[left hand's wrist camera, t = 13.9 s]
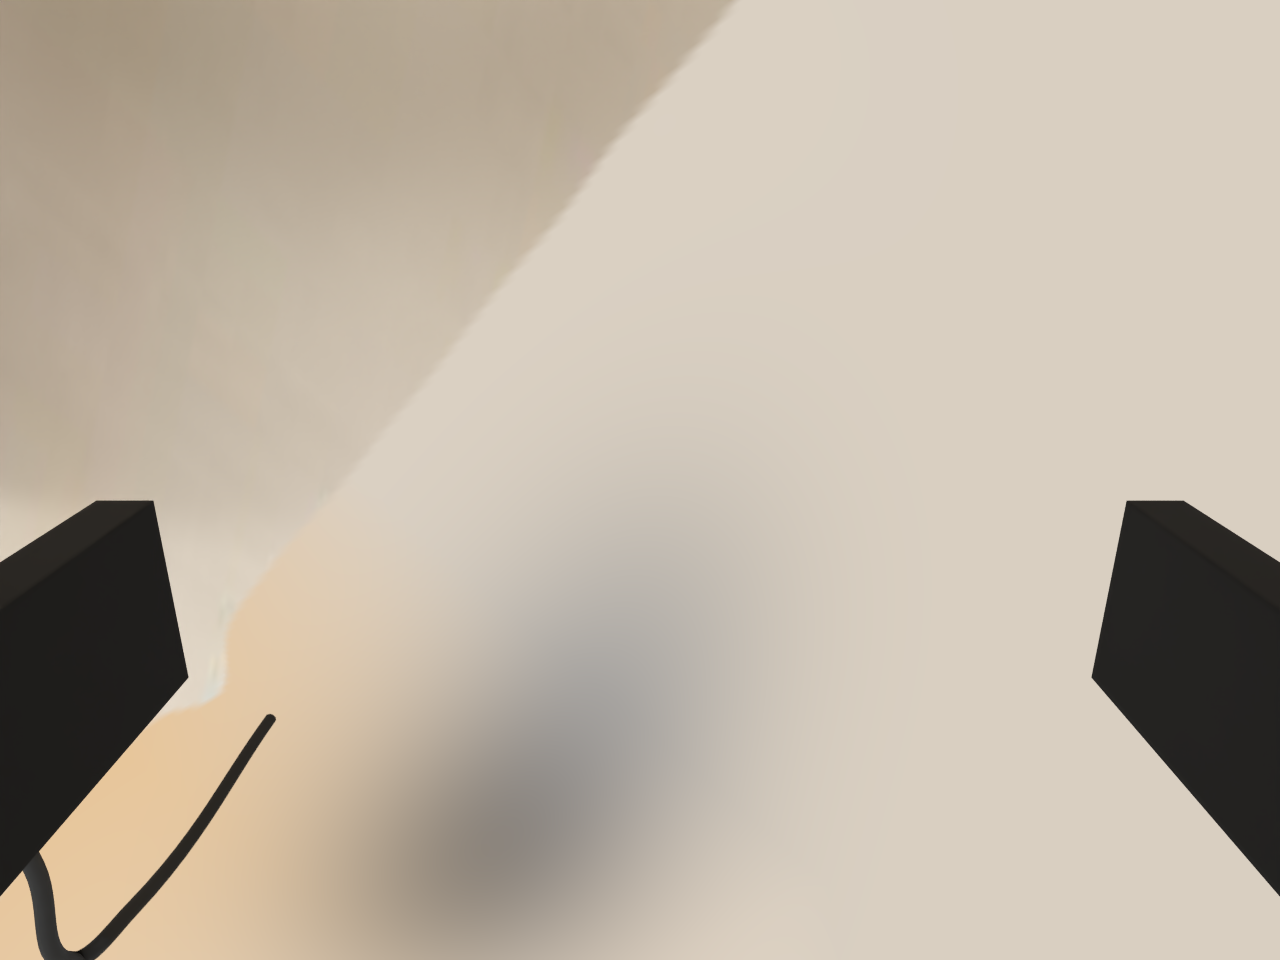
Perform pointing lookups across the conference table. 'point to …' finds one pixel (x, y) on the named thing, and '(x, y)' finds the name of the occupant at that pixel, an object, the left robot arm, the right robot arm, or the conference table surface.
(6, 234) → the conference table surface
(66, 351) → the conference table surface
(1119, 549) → the left robot arm
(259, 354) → the conference table surface
